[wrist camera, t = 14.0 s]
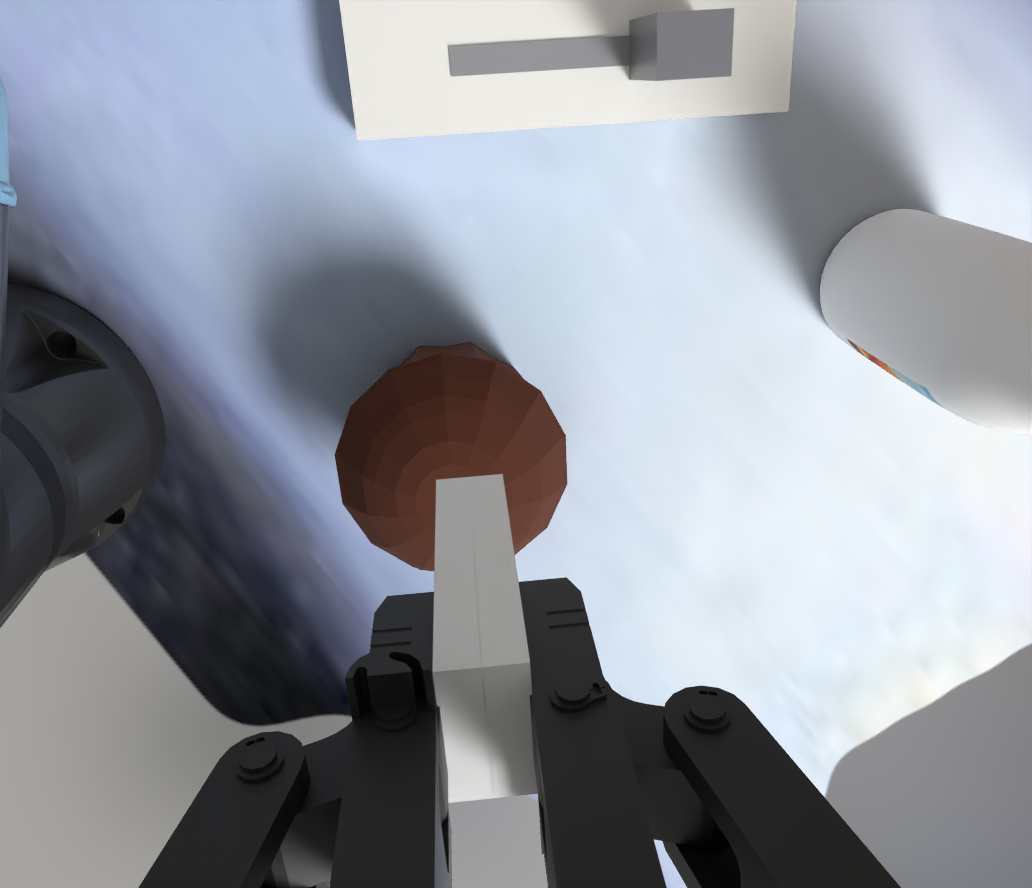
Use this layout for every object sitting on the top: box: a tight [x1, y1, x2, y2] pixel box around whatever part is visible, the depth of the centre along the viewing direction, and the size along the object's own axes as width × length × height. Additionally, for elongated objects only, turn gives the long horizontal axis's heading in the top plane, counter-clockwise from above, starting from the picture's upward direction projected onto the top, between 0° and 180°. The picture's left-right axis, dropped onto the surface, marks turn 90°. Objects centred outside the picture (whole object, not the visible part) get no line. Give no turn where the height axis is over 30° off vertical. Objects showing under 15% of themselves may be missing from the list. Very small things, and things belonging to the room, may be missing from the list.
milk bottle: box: [820, 209, 1032, 434], centre depth 36 cm, size 8×8×20 cm
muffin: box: [335, 342, 567, 571], centre depth 42 cm, size 12×11×10 cm
